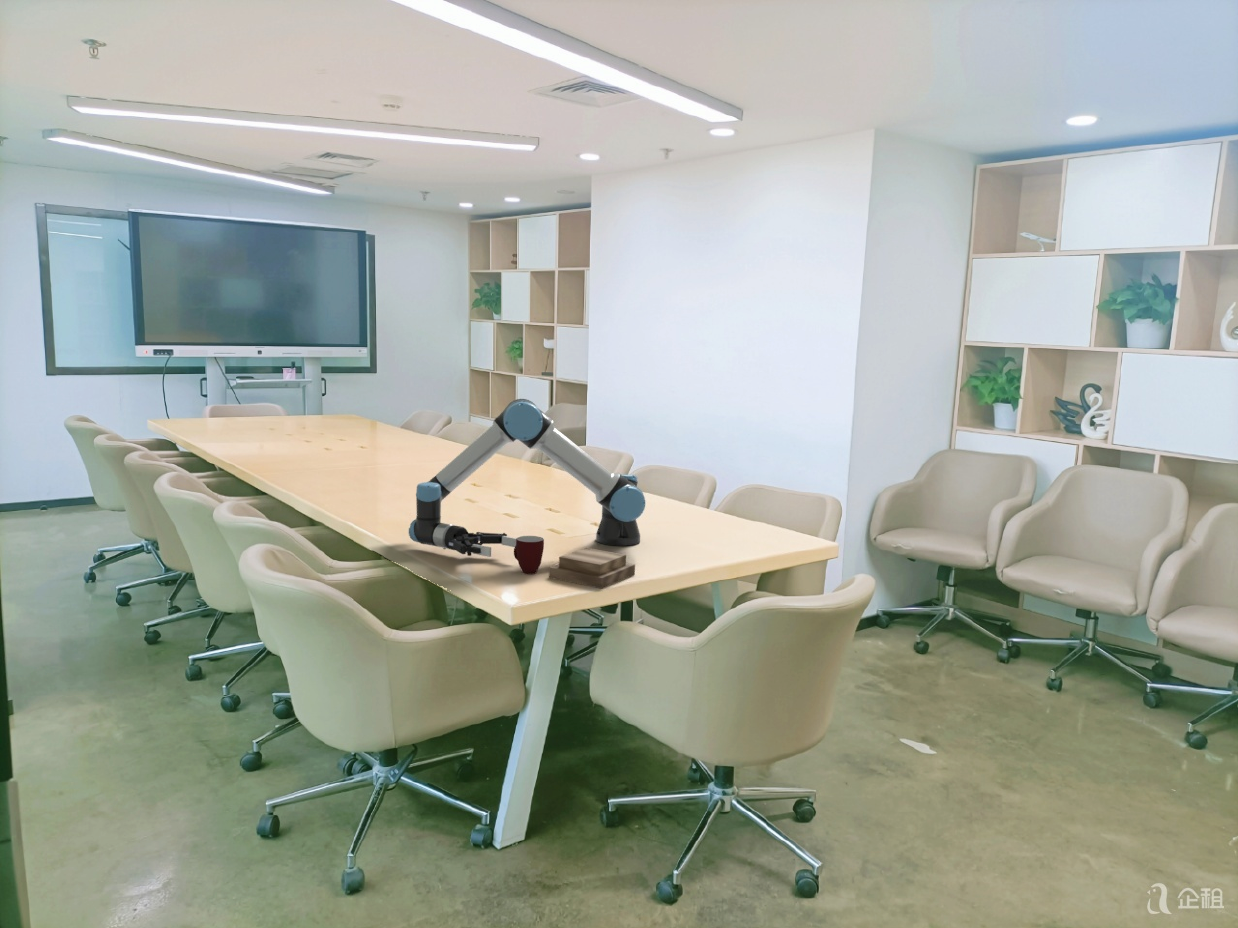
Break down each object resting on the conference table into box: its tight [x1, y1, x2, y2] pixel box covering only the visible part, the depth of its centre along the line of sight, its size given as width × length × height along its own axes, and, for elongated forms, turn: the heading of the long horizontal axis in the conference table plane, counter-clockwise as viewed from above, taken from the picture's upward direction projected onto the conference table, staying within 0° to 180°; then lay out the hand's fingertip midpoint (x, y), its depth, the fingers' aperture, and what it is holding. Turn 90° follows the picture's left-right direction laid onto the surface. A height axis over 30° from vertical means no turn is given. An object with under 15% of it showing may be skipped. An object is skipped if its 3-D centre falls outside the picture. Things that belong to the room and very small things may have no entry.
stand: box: [548, 547, 636, 589], centre depth 251 cm, size 18×18×6 cm
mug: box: [513, 535, 545, 575], centre depth 253 cm, size 10×8×10 cm
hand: (505, 547), depth 257 cm, fingers open, 13 cm apart
